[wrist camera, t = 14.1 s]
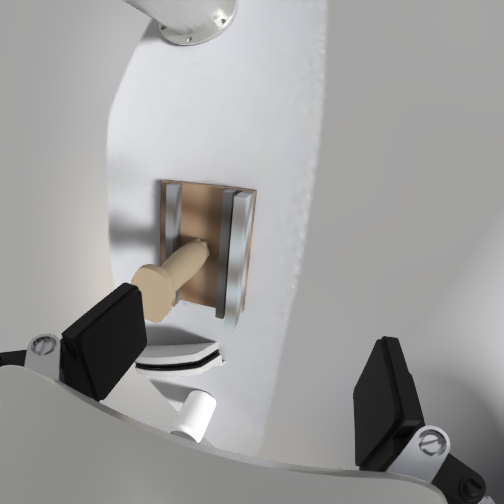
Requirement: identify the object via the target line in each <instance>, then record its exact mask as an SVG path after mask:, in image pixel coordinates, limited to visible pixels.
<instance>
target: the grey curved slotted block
mask: <svg viewBox="0 0 504 504" xmlns="http://www.w3.org/2000/svg"><path fill="white" fill-rule="evenodd" d="M219 348H220V346H219V344H218V343H217V342H210V343H197V344H180V345H158V346H147V347H146V348H145V349H144V350H143V352H142V353H141V354H140V355H139V357H138V358H137V359H136V360H135V363H137V364H136V366H135V369H136V371H137V372H138V373H140V374H142V375H147V376H154V377H181V376H191V375H198V374H202V373H204V372H205V371H207V370H208V369H210V368H211V367H213V366H222V365H223V364H225V361H222V354H219V353H215V352H217V351H218V349H219Z"/></svg>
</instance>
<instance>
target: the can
mask: <svg viewBox="0 0 504 504" xmlns="http://www.w3.org/2000/svg"><path fill="white" fill-rule="evenodd" d="M215 406H216V401H215V399H214V398H213V396H211V395H210V394H209V393H207V392H205V391H201V390H195V391H191V392H190V393H189V395H188V397H187V399H186V400H185V402H184V404H183V406H182V408H181V410H180V412H179V414H178V415H177V417H176V419H175V421H174V423H173V425H172V432H171V434H173V435H176V436H179V437H182V438H185V439H188V440H191V441H194V442H197V443H198V442H199V441H201V439H202V437H203V435H204V433H205V430H206V428H207V426H208V423H209V421H210V419H211V416H212V414H213V411H214V409H215Z"/></svg>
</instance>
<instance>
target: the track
mask: <svg viewBox="0 0 504 504" xmlns="http://www.w3.org/2000/svg"><path fill="white" fill-rule="evenodd" d="M256 194H257V190H252V189H244V188H237V187H228V186H220V185H211V184H202V183H193V182H183V181H172V180H164V181H161V203H160V256H161V265H162V264H163V263H164V262H165V261H166V260H167V259H168V258H169V257H170V256H171V255H172V254H173V253H174V252H175V251H177V250H178V249H179V248H181V247H182V246H184V245H186V244H187V243H190V242H193V240H195V239H200V240H201V241H206V242H207V243H208V248H209V250H210V254H209V256H208V257H207V258H206V260H205V262H204V264H203V265H202V267H201V268H200V269H199V270H198V272H197V273H196V274H195V275H194V276H192V277H191V278H190V279H189V280H188V281H187V282H186V283H184V284H183V285H182V286H181V287H180V288H179V289H178V290H177V291H176V298H175V302H174V305H173V307H174V306H175V305H176V304H177V303H178V302H179V300H180V299H181V300H185V301H189V302H193V303H197V304H201V305H206V306H210V307H214V308H216V317H217V318H221V319H223V318H224V316H225V321H224V330H228V331H232V332H233V331H234V329H235V327H236V325H237V323H238V321H239V318H240V316H241V314H242V312H243V310H244V304H245V295H246V285H247V276H248V267H249V258H250V248H251V239H252V230H253V221H254V212H255V203H256Z"/></svg>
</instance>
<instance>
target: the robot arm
mask: <svg viewBox="0 0 504 504" xmlns="http://www.w3.org/2000/svg"><path fill="white" fill-rule="evenodd" d="M123 1H125V2H126V3H128V4H130V5H132V6H134V7H135V8H137V9H139V10H140V11H142V12H144V13H145V14H147V15H149V16H150V17H152V18H153V19H155V20H156V21H158V28H159V30H160V32H161V34H162V35H163V36H164V37H165V38H166V39H167V40H169V41H171V42H172V43H175V44H178V45H196V44H200V43H203V42H206V41H209V40H210V39H212V38H214V37H216V36H217V35H219V34H220V33H222V32H223V31H224V30H225V29H226V28H227V27H228V26H229V25H230V23H231V22H232V21H233V19H234V17H235V15H236V11H237V0H123ZM224 22H225V23H224ZM190 40H191V41H190ZM62 337H63V338H62V339H61V340H59V338H58V337H56V336H55V335H52V334H41V335H38V336H36V337H35V338H33V339H32V340H31V341H30V342H29V345H28V347H27V350H21V351H12V352H3V353H0V504H495V503H494V502H493V500H492V499H491V498H490V496H488V497H487V498H486V497H485V496H484V494H485V492H486V485H485V481H484V480H483V478H482V477H481V476H480V475H479V474H478V473H476V472H475V471H473V470H472V469H471V468H469V467H468V466H466V465H465V464H464V463H462V462H461V461H459V460H458V459H457V458H455V457H454V456H452V455H451V454H450V453H449V450H450V440H449V438H448V436H447V434H446V433H445V432H444V431H443V430H442V429H440V428H438V427H436V426H425V422H424V418H423V414H422V410H421V406H420V403H419V399H418V395H417V392H416V388H415V384H414V381H413V378H412V375H411V374H410V373H409V371H408V368H407V365H406V362H405V359H404V355H403V352H402V349H401V346H400V343H399V340H398V338H394V337H386V336H384V337H382V338H381V340H380V339H378V340H377V341H376V343H375V345H374V348H373V350H372V352H371V355H370V357H369V359H368V361H367V364H366V366H365V368H364V370H363V372H362V374H361V376H360V378H359V380H358V382H357V384H356V386H355V389H354V393H353V400H354V422H355V463H356V466H359V471H357V470H340V469H328V468H319V467H309V466H301V465H294V464H288V463H281V462H275V461H270V460H264V459H259V458H255V457H250V456H245V455H241V454H237V453H233V452H229V451H225V450H221V449H218V448H214V447H210V446H207V445H204V444H200V443H197V442H194V441H191V440H188V439H185V438H182V437H179V436H176V435H173V434H170V433H168V432H165V431H162V430H160V429H157V428H155V427H152V426H149V425H147V424H145V423H142V422H140V421H137V420H135V419H133V418H131V417H128V416H126V415H124V414H122V413H120V412H117V411H115V410H113V409H111V408H109V407H107V406H105V405H103V404H101V403H99V401H100V400H104V399H105V398H106V397H107V395H108V394H109V393H110V392H111V390H112V389H113V388H114V387H115V385H116V384H117V383H118V382H119V380H120V379H121V378H122V377H123V375H124V374H125V373H126V372H127V370H128V369H129V368H130V367H131V365H132V364H133V363H134V362H135V360H136V359H137V358H138V357H139V355H140V354H141V353H142V352H143V350H144V349H145V348H146V345H147V337H146V329H145V321H144V312H143V302H142V292H141V291H140V290H139V288H138V286H136V285H132V284H129V283H123V284H122V285H120V286H119V287H118V288H116V289H115V290H114V291H113V292H111V293H110V294H109V295H108V296H106V297H105V298H104V299H103V300H101V301H100V302H99V303H98V304H96V305H95V306H94V307H93V308H91V309H90V310H89V311H88V312H87V313H85V314H84V315H83V316H82V317H81V318H79V319H78V320H77V321H76V322H74V324H72V325H71V326H70V327H68V328H67V330H65V331H64V332H63V333H62Z"/></svg>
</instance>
